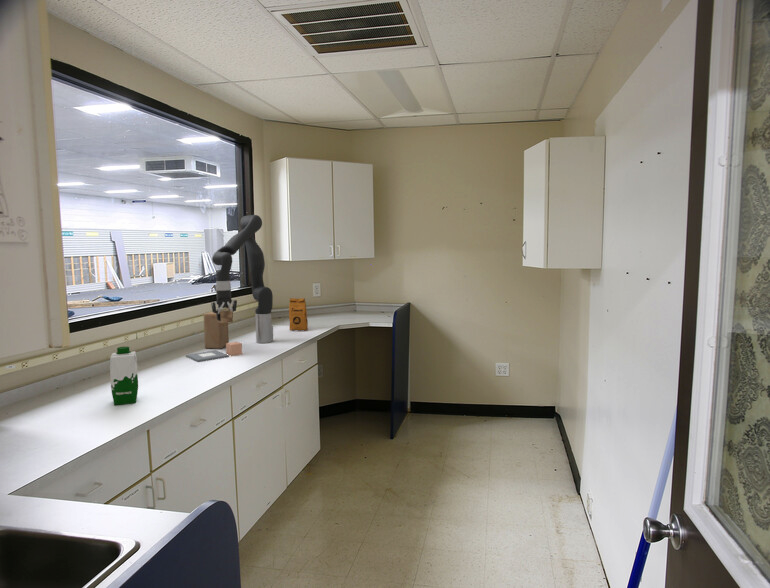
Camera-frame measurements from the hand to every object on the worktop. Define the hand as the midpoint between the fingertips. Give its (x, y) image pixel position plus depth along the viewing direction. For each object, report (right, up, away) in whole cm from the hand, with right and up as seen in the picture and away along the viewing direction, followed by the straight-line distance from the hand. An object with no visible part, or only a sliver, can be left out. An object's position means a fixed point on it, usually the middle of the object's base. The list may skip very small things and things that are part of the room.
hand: (224, 319), depth 265 cm
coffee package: (+28, -11, +67) cm, 73 cm away
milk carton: (-9, -26, -84) cm, 88 cm away
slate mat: (-6, -19, -11) cm, 22 cm away
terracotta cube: (+7, -18, -5) cm, 20 cm away
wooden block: (-9, -16, +13) cm, 23 cm away
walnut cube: (0, -1, 0) cm, 1 cm away
